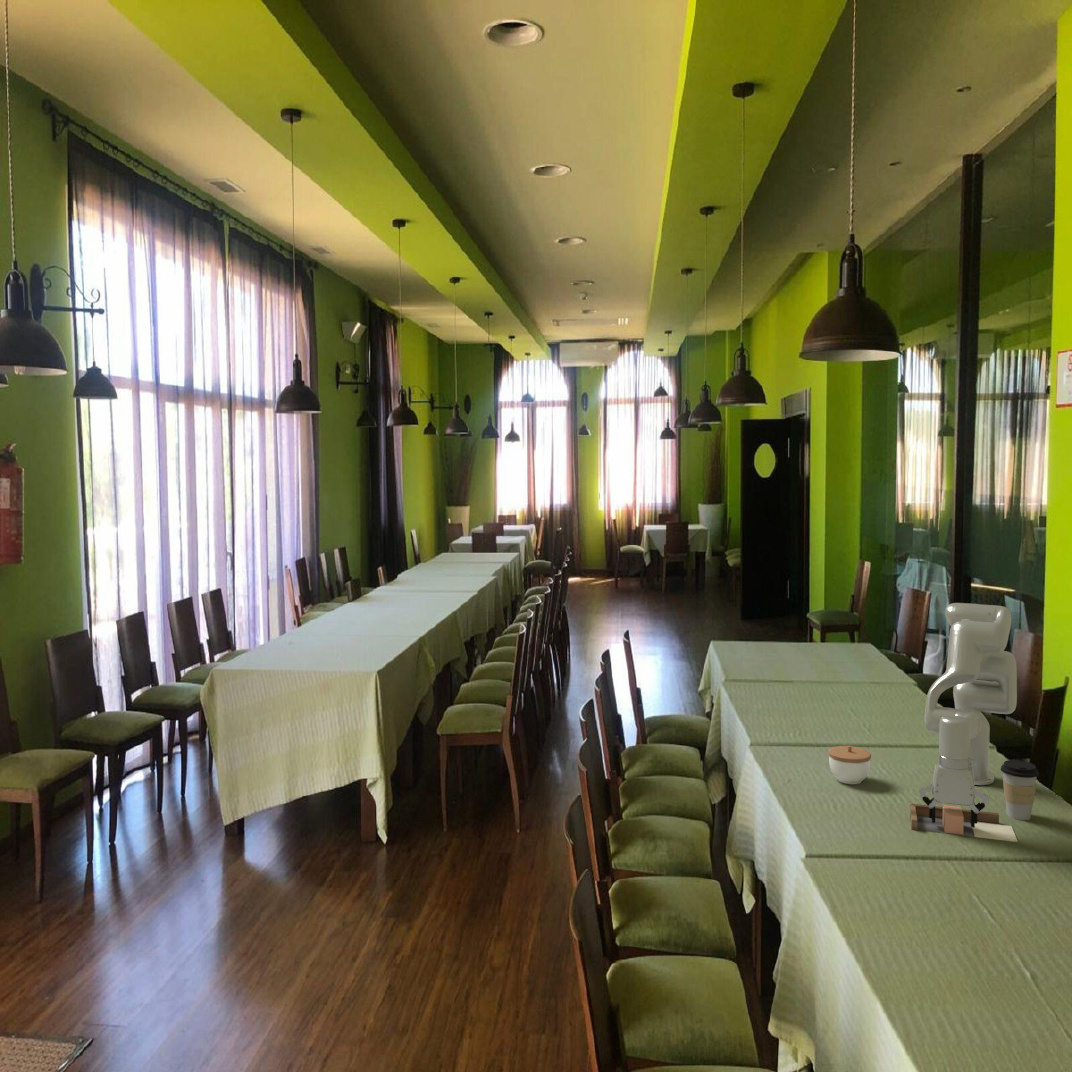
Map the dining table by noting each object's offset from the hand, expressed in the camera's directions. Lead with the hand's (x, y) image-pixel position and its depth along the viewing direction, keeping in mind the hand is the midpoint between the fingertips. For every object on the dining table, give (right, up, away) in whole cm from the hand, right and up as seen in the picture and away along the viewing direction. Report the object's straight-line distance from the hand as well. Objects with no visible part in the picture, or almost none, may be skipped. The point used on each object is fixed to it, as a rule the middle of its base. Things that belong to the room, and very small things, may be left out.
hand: (952, 823), depth 235 cm
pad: (+10, -2, -2) cm, 10 cm away
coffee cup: (+22, -1, +8) cm, 24 cm away
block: (0, -2, 0) cm, 2 cm away
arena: (+4, -2, +1) cm, 4 cm away
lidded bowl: (-14, +1, +38) cm, 40 cm away
